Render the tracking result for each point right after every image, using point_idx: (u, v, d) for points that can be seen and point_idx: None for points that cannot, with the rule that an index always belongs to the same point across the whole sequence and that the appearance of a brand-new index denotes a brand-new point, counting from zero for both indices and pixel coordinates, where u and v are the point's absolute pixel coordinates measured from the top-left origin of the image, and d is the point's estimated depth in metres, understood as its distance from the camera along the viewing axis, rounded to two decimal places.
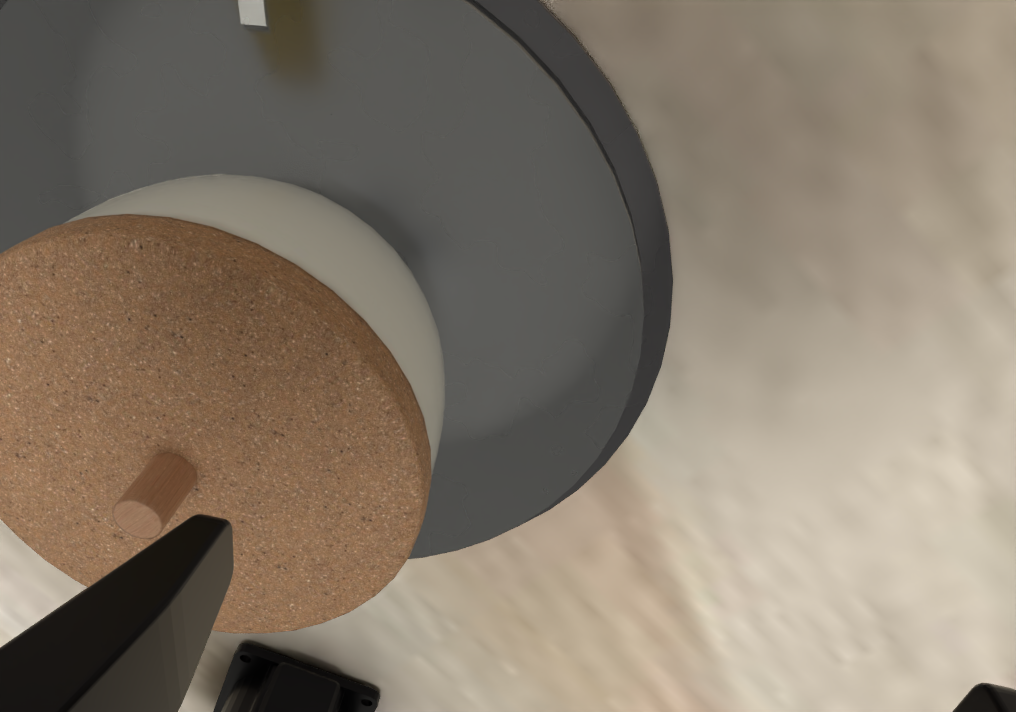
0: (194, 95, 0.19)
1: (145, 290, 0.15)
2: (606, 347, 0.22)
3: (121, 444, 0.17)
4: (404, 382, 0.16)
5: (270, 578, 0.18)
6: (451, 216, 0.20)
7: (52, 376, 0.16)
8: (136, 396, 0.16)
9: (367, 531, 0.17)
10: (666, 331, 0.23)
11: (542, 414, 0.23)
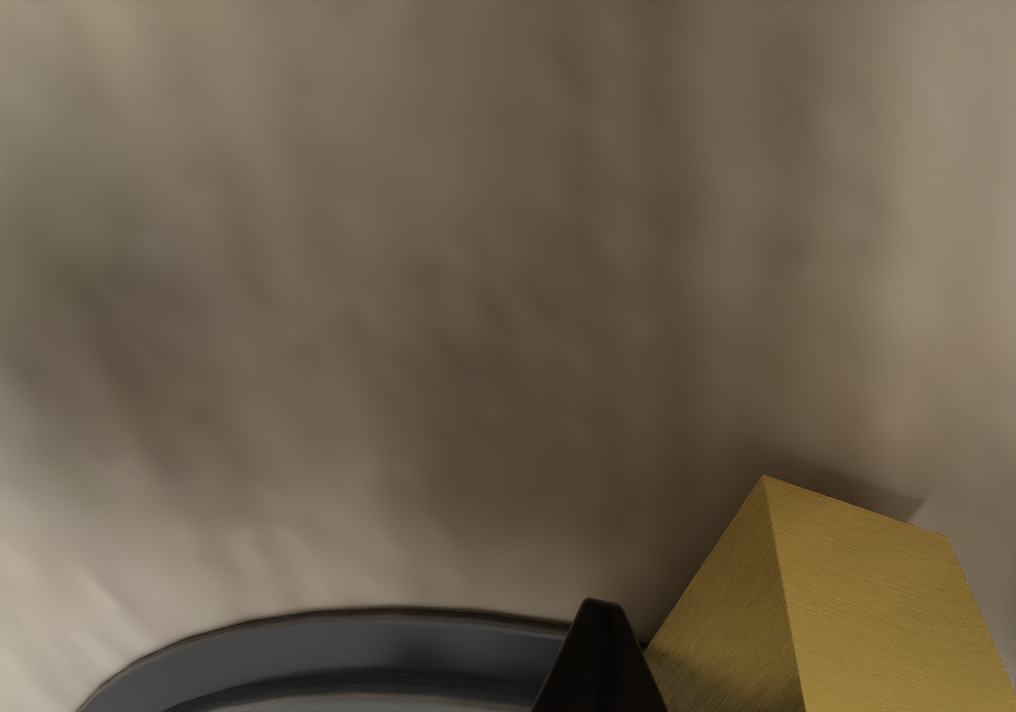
0: None
1: None
2: None
3: None
4: None
5: None
6: None
7: None
8: None
9: None
10: None
11: None
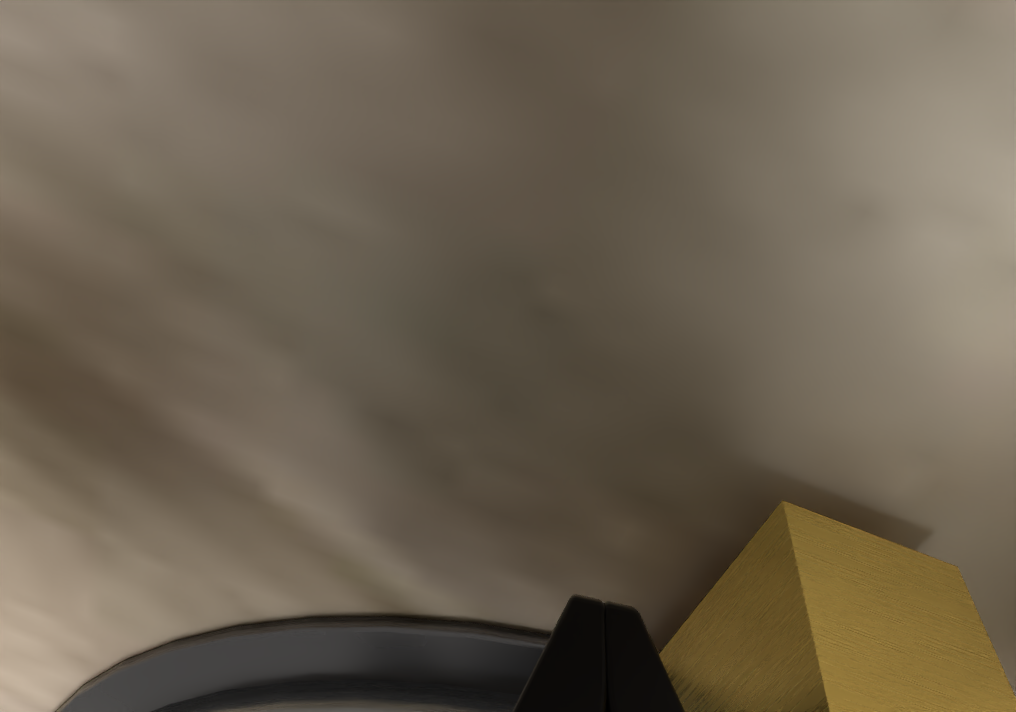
0: None
1: None
2: None
3: None
4: None
5: None
6: None
7: None
8: None
9: None
10: None
11: None
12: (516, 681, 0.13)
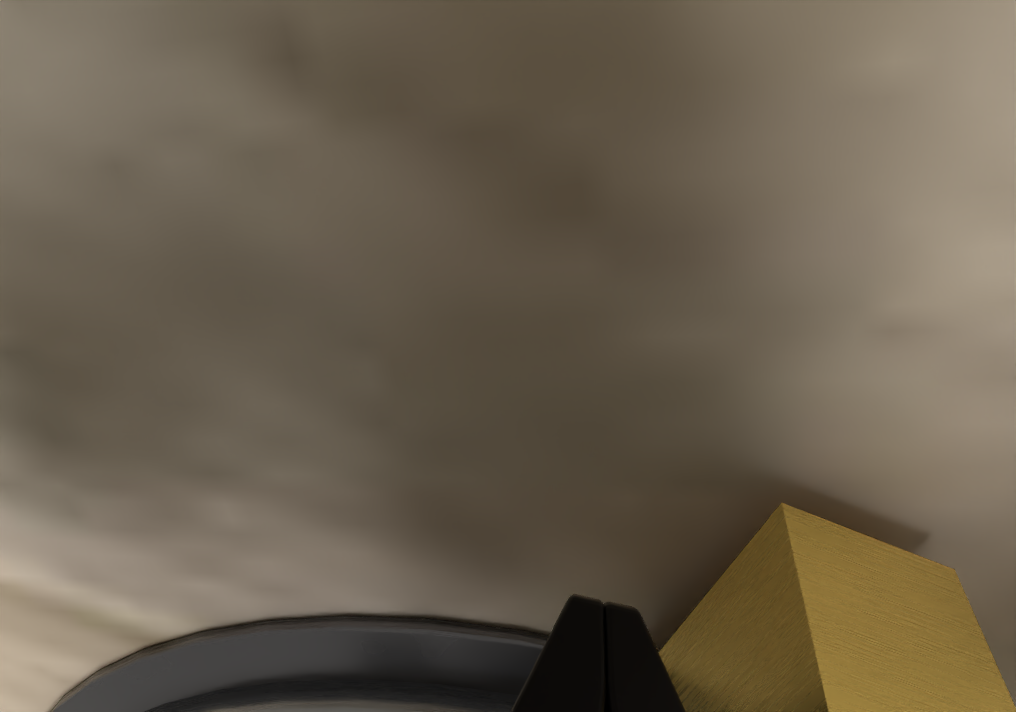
0: None
1: None
2: None
3: None
4: None
5: None
6: None
7: None
8: None
9: None
10: None
11: None
12: (257, 673, 0.14)
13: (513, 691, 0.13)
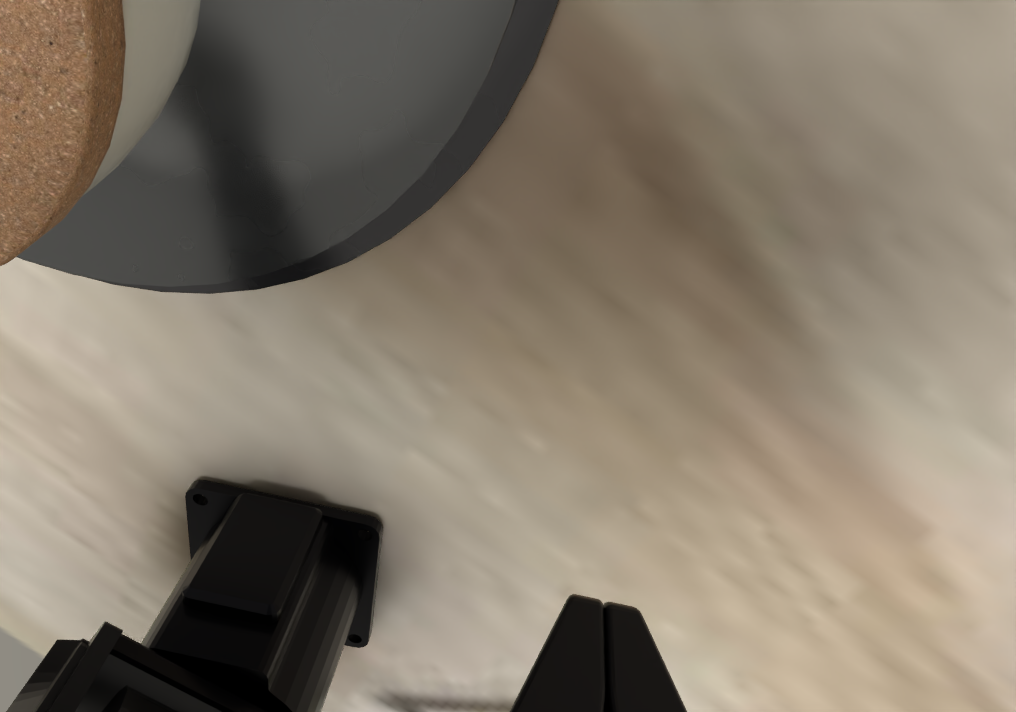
0: None
1: None
2: (328, 202, 0.19)
3: None
4: (106, 140, 0.12)
5: None
6: None
7: None
8: None
9: None
10: None
11: (206, 200, 0.19)
12: None
13: None
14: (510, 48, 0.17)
